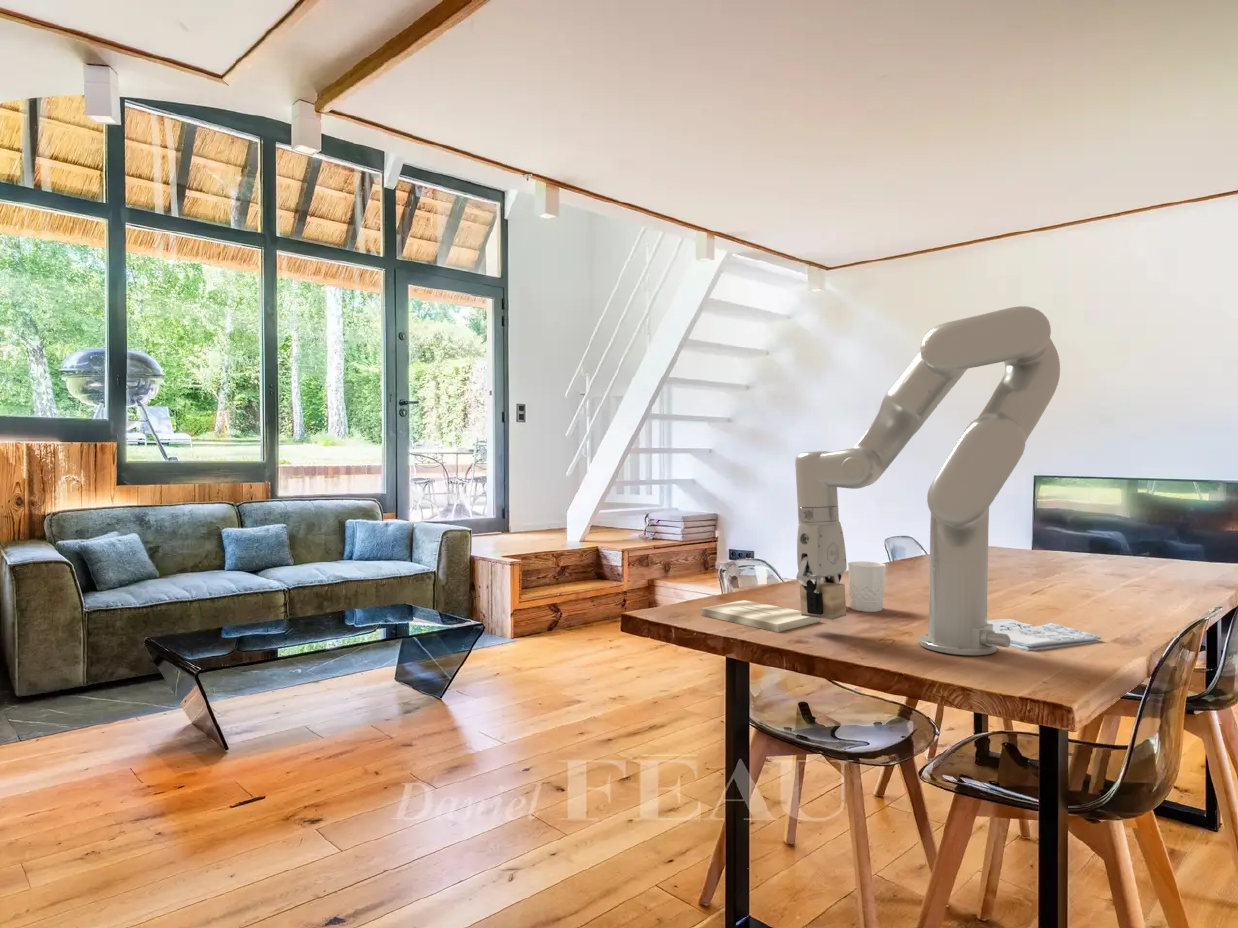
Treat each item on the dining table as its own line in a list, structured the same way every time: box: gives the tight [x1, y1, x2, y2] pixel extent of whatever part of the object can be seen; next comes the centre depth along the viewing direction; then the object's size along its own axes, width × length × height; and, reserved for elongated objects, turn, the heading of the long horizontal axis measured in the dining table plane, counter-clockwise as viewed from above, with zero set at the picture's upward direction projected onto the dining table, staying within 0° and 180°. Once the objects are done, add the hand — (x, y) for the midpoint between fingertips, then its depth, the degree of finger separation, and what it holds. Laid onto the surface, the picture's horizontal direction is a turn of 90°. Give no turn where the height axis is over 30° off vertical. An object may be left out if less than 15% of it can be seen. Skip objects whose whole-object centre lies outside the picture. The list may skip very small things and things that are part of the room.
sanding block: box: [799, 581, 847, 620], centre depth 149 cm, size 7×4×6 cm, turn 41°
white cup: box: [847, 561, 887, 613], centre depth 173 cm, size 8×8×10 cm
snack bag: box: [987, 618, 1102, 652], centre depth 150 cm, size 19×20×2 cm
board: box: [700, 599, 821, 633], centre depth 163 cm, size 20×14×2 cm
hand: (823, 610), depth 149 cm, fingers closed on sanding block, 4 cm apart
